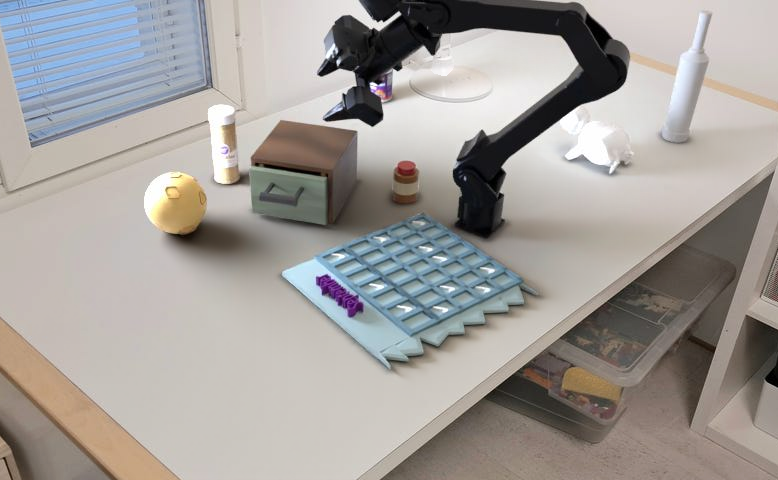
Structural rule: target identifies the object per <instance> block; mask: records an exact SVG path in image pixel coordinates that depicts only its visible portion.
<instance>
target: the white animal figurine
mask: <svg viewBox="0 0 778 480" xmlns="http://www.w3.org/2000/svg"><path fill="white" fill-rule="evenodd" d="M590 120H591V113H590V112H589V110H588V108H587V107H586V106H584V105H580V106H578V107H577V108H576V109H574V110H573V111H572V112H570V113H569V114H568V115H566V116H565V117H563V118H562V119H561V120H560V125H561V127H562V128H563V129H564V130H566V131H567V132H568V133H569V134H570V135H578V134H579V136H578V138H577V139H578V140H577V145H575V146H574V147H572V148H571V149H570V150H569V151H568V152H567V153H566V154H565V155H564V156H565V158H566V159H567V160H568V161H570V160H573V159H576V158H578V157H580V156H582V155H583V156H584V157H585V158H586V159H587V160H588V161H590V163H592V164H595V165H600V166H605V167H607V168H609V171H608V172H609V173H608V174H611V175H612V173H614V171H615V170H616V169H617V167H618V166H619V165H620V163H621V162H620V161H624V166H627V165H628V163H629V162H630V161H631V159H632V157H633V156H635V152H634V151H632V146H631V142H630V137H629V134H628V133H627V131H626V130H625V129H624V128H622V127H620V126H617V125H615V124H613V123H609V122H606V121H603V120H593V121H590Z"/></svg>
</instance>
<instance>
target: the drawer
mask: <svg viewBox="0 0 778 480" xmlns="http://www.w3.org/2000/svg"><path fill="white" fill-rule="evenodd" d="M248 171H249V185H250V199H251V200H250V201H251V212H252V214H256V215H262V216H263V215H264V216H269V217H275V218H281V219H287V220H294V221H300V222H305V223H310V224H311V223H312V224H317V225H323V226H326V225H327V224H328V223H329V222H328V211H329V206H328V173H321V172H315V171H308V170H302V169H295V168H289V167H282V166H276V165H269V164H263V163H259V167H256V166H251V165H250V168H249V169H248Z"/></svg>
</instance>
